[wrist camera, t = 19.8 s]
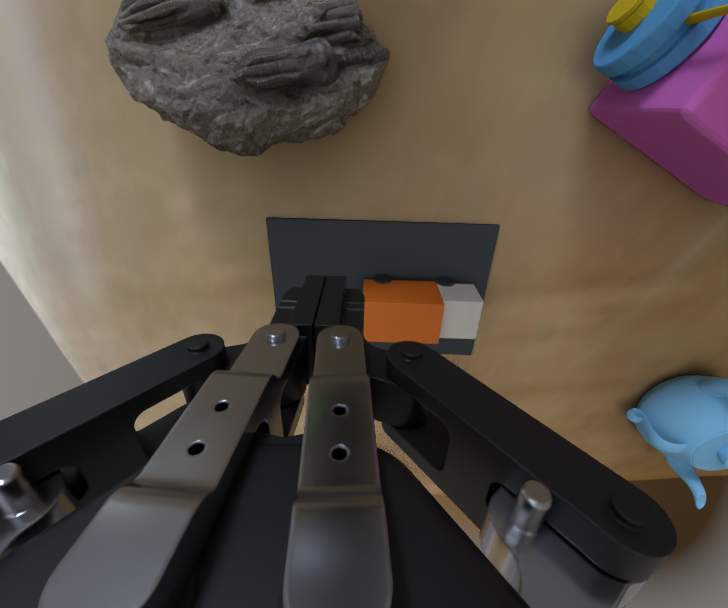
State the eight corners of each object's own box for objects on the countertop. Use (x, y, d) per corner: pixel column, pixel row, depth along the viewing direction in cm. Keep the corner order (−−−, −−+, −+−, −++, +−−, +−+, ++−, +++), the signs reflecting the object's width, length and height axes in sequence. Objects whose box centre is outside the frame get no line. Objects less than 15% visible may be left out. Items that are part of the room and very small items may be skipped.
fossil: (403, -35, 26) (362, 147, 23) (393, 73, 35) (363, 210, 33) (118, -82, 27) (48, 89, 24) (183, 36, 36) (138, 167, 34)
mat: (281, 347, 48) (280, 348, 48) (266, 217, 39) (265, 218, 39) (470, 353, 48) (471, 355, 48) (498, 224, 39) (499, 225, 39)
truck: (361, 343, 39) (477, 346, 39) (362, 300, 36) (487, 304, 36) (362, 312, 45) (464, 315, 45) (364, 273, 42) (471, 276, 42)
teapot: (603, 401, 52) (650, 462, 43) (709, 342, 47) (789, 398, 38) (649, 447, 57) (700, 511, 48) (750, 399, 51) (830, 461, 42)
